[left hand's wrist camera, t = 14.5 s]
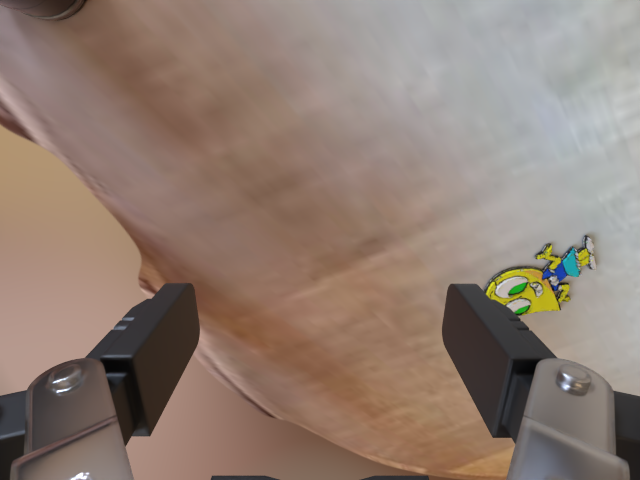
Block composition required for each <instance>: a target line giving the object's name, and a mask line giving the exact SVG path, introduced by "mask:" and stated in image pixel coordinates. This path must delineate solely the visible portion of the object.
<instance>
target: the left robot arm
mask: <svg viewBox="0 0 640 480" xmlns="http://www.w3.org/2000/svg"><path fill="white" fill-rule="evenodd" d="M84 1H85V0H0V5H2V6H5V7H8V8H11V9H14V10H17V11H20V12H22V13H24V14H26V15H29V16H32V17H35V18H38V19H42V20H48V21H56V20H62V19H65V18H67V17H69V16H71V15H73V14H74V13H75V12H76V11H77V10H78V9H79V8H80V7H81V6H82V4H83V3H84ZM199 334H200V326H199V318H198V311H197V304H196V297H195V290H194V287H193V285H192V284H191V283H166V284H164V285H163V287H162V288H161V289H160V290H159V291H158V292H157V293H156V294H155V296H154V297H153V298H152V299H146V300H145V301H143V302H141V303H140V304H138V305H136V306H135V307H133V308H132V309H131V310H130V311H129V312H128V313H127V314H126V315H125V316H124V317H123V318H122V321H119V322H118V323H117V324H116V325H115V327H114V329H113V330H111V331H110V332H109V333H108V334H107V335H106V336H105V337H104V338H103V339H102V340H101V341H100V342H99V343H98V345H97V346H96V347H95V348H94V349H93V350H92V351H91V352H90V353H89V354H88V355H87V356H86V357H85V358H81V359H75V360H71V361H67V362H64V363H62V364H59V365H57V366H55V367H52V368H51V369H49V370H47V371H45V372H44V373H42V374H41V375H40V376H38V377H37V378H36V379H35V380H34V381H33V382H32V383H31V384H30V386H29V387H28V389H27V390H26V391H21V392H16V393H11V394H7V395H2V396H0V480H134V478H133V475H132V471H131V467H130V463H129V459H128V456H127V452H126V448H125V447H126V445H127V443H128V441H129V440H130V438H131V436H150V435H151V433H152V431H153V429H154V428H155V426H156V424H157V422H158V420H159V418H160V416H161V414H162V412H163V410H164V408H165V406H166V405H167V402H168V401H169V399H170V397H171V395H172V393H173V391H174V389H175V387H176V385H177V383H178V381H179V380H180V378H181V376H182V374H183V372H184V370H185V368H186V366H187V364H188V362H189V360H190V358H191V356H192V355H193V353H194V351H195V349H196V347H197V344H198V341H199ZM442 337H443V342H444V345H445V348H446V350H447V352H448V353H449V355H450V357H451V359H452V361H453V363H454V365H455V367H456V369H457V371H458V372H459V374H460V376H461V378H462V380H463V382H464V384H465V386H466V388H467V390H468V391H469V393H470V395H471V397H472V399H473V401H474V403H475V405H476V407H477V409H478V410H479V412H480V414H481V416H482V418H483V420H484V422H485V424H486V426H487V428H488V429H489V431H490V433H491V435H492V437H493V438H512V439H513V441H514V443H515V448H514V452H513V456H512V459H511V463H510V467H509V471H508V474H507V478H506V480H640V396H635V395H631V394H626V393H621V392H617V391H613V389H612V387H611V386H610V384H609V383H608V382H607V381H606V380H605V379H604V378H603V377H602V376H600V375H599V374H598V373H596V372H595V371H593V370H591V369H589V368H588V367H586V366H583V365H581V364H579V363H576V362H573V361H569V360H565V359H559V358H557V357H556V356H555V355H554V354H553V353H552V352H551V351H550V350H549V349H548V348H547V347H546V346H545V344H544V343H543V342H542V341H541V340H540V339H539V338H538V337H537V336H536V335H535V334H534V333H533V332H532V331H529V328H528V327H527V326H526V325H525V324H524V322H523V321H520V318H519V317H518V316H517V315H516V314H515V313H514V312H513V311H512V310H511V309H510V308H508V307H507V306H505V305H503V304H502V303H500V302H498V301H496V300H491V299H490V298H489V297H488V296H487V295H486V294H485V292H484V291H483V290H482V289H481V288H480V287H479V286H478V285H477V284H450V286H449V287H448V291H447V297H446V304H445V311H444V318H443V325H442ZM211 480H279V479H275V478H271V477H268V476H212V478H211ZM361 480H429V478H428V476H372V477H369V478H365V479H361Z"/></svg>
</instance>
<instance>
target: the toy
mask: <svg viewBox="0 0 640 480" xmlns="http://www.w3.org/2000/svg"><path fill="white" fill-rule="evenodd" d="M583 244H584V248H582V249H580V250H579V251H578V252H577V250H576V249H575V248H574V247H571V248H570V250H569V251H568V252H567V253H566V255H565V256H564V258H563V259H562V258H560V257H559V256H554V255H551V252H552V249H551V248H552V246H551V244H547V245H546V246H545V247H544V249H543V251H542V252H541V253H538V254H537V255H536V256H535V258H536V259H542V258H543V259H546V260H550V261H551V262H550V263H549V264H548V265H547V266H546V267H545V269H544V270H543V271H542V270H541V269H538V268H535V267H516V268H511V269H508V270H505V271H503V272H501V273H499V274H498V275H496V276H495V277H494V278H493V279H492V280H490V282H489V283H488V284H487V286H486V288H485V290H484V292H485V294H486V295H487V296H488V297H489V298H490V299H491V300H496V301H498V302H500V303H502V304H503V305H505V306H507V307H508V308H510V309H511V310H512V311H513V312H514V313H516V315H517V316H518V317H519V316H520V315H526V314H530V313H534V312H540V311H556V310H557V311H560V310H561V308H560V305H559V304H558V302H561V301H566V302H568V300H571V299H570V297H569V296H568V295H567V293H568V290H569V288H570V287H569V284H568V283H561V284H559V282H560V281H561V280H563V279H564V278H565V277H566V276H567V275H570V276H573V277H578V276H579V275H582V274H581V273H580V272H581V270H580V269H581V268H580V267H579V266H584V265H586V264H587V265H588V267H589V269H592V270H596V264H595V259H594V256H593V255H592V254H593V247H594V246H593V244H592V240H591V239H590V238H589V237H588V236H586V235H585V236H584V239H583ZM582 253H583V254H582ZM572 254H573V255H572ZM580 255H581V256H580ZM587 255H588V256H587ZM550 257H551V258H550ZM558 259H559V260H558ZM553 260H554V261H553ZM553 265H554V266H553ZM521 271H522V272H521ZM526 274H527V275H526ZM550 274H551V275H550ZM549 275H550V276H549ZM525 276H526V277H525ZM537 277H538V279H537ZM563 277H564V278H563ZM516 278H518V279H516ZM554 278H555V279H554ZM522 279H523V280H522ZM509 280H510V281H509ZM542 281H543V283H542ZM504 283H505V284H504ZM493 285H494V286H493ZM545 285H547V286H545ZM524 286H525V287H524ZM550 286H551V287H550ZM566 286H567V287H566ZM500 287H501V288H500ZM522 288H523V289H522ZM556 288H557V289H556ZM490 289H491V290H490ZM499 289H500V290H499ZM566 289H567V290H566ZM520 290H521V291H520ZM547 290H548V291H547ZM557 290H561V291H560V292H559V294H558V296H557V297H556V295H555V293H554V291H557ZM490 291H492V292H490ZM497 293H498V294H497ZM540 296H541V297H540ZM492 297H493V298H492ZM564 298H565V299H564ZM515 302H516V303H515ZM553 309H554V310H553Z"/></svg>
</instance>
